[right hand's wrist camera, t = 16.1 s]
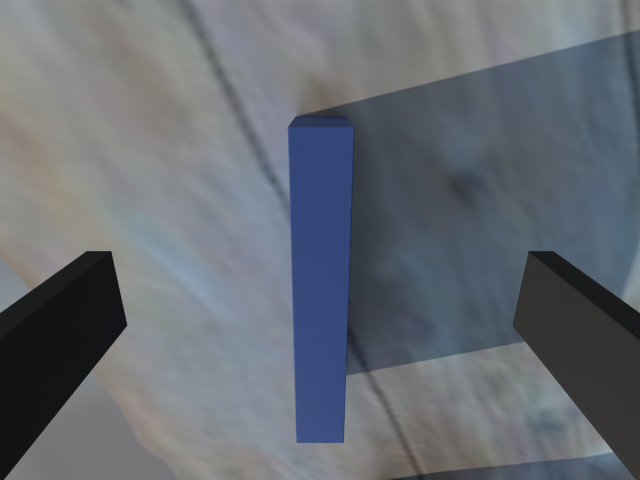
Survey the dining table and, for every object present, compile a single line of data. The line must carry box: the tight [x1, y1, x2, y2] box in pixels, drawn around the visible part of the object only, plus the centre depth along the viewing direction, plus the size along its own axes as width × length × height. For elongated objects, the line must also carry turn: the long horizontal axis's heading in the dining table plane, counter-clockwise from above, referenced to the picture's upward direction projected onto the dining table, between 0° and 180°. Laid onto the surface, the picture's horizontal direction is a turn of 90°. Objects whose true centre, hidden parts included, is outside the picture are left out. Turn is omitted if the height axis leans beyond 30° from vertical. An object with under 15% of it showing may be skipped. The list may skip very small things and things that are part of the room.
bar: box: [288, 117, 354, 443], centre depth 36 cm, size 30×5×9 cm, turn 0°
